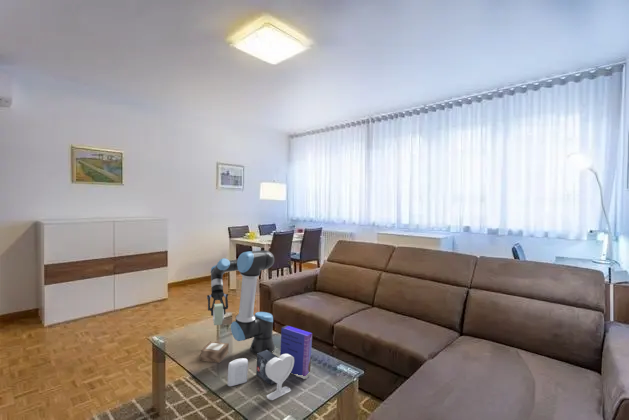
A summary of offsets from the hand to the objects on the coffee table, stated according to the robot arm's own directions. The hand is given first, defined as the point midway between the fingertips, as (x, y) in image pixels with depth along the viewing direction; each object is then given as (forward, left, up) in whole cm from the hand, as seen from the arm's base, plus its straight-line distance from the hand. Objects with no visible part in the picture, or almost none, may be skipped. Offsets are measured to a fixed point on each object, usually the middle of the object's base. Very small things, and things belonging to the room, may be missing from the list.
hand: (218, 319), depth 200 cm
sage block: (+2, -3, -4) cm, 5 cm away
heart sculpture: (-49, +37, -18) cm, 64 cm away
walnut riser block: (-3, +10, -18) cm, 21 cm away
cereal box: (-53, +17, -18) cm, 59 cm away
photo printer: (-26, +33, -18) cm, 46 cm away
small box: (-40, +25, -18) cm, 51 cm away
